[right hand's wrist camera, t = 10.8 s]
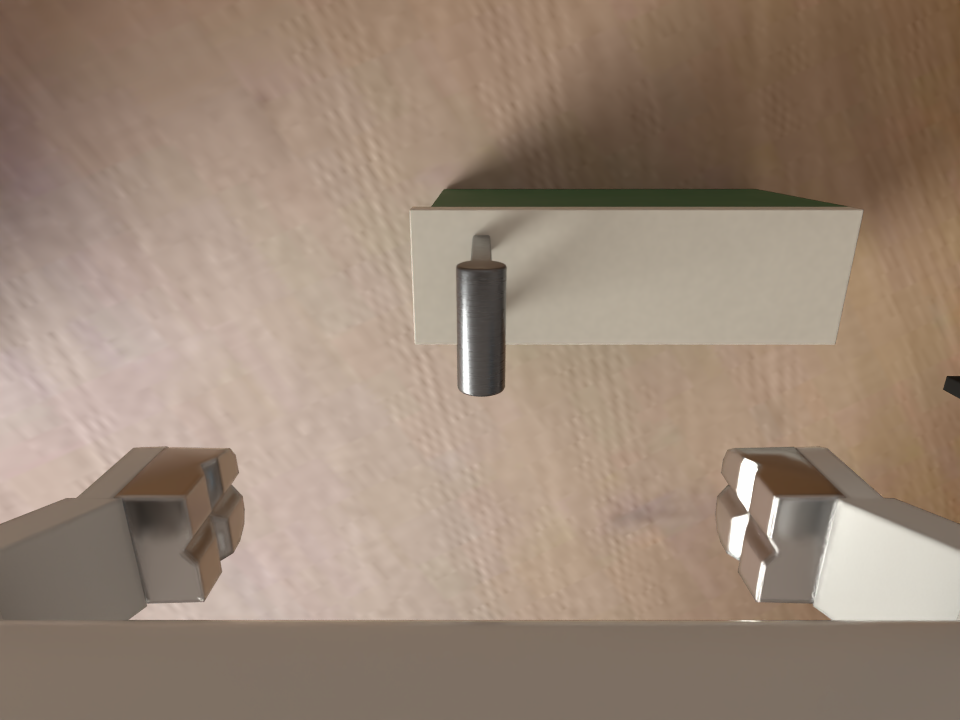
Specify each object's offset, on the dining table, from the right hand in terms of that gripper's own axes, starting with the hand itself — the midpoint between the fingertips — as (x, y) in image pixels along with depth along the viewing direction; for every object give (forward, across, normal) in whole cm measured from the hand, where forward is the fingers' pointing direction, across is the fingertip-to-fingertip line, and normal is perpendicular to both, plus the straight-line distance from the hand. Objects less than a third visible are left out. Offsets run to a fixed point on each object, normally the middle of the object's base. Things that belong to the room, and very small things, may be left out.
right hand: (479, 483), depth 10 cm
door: (+16, +6, 0) cm, 17 cm away
